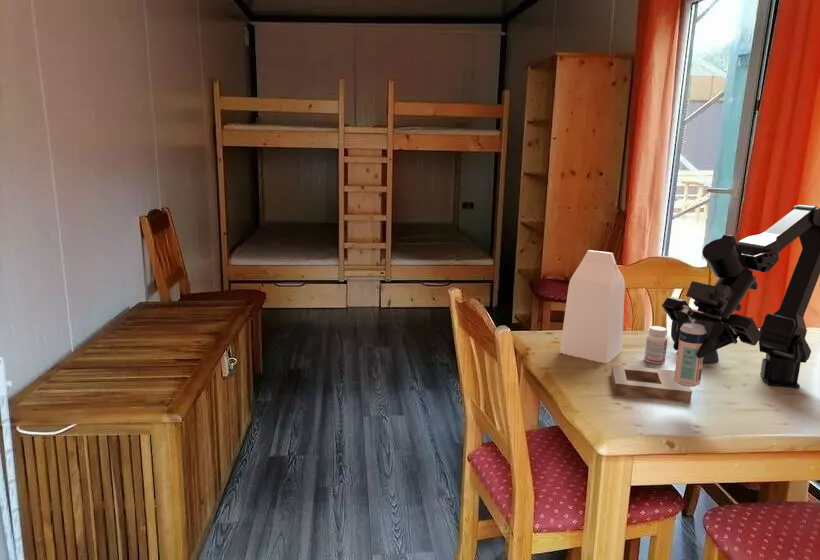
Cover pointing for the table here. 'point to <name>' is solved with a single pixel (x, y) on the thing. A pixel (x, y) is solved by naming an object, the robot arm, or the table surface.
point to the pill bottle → (656, 345)
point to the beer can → (689, 354)
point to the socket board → (648, 383)
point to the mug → (712, 356)
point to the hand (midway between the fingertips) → (686, 353)
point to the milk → (594, 309)
